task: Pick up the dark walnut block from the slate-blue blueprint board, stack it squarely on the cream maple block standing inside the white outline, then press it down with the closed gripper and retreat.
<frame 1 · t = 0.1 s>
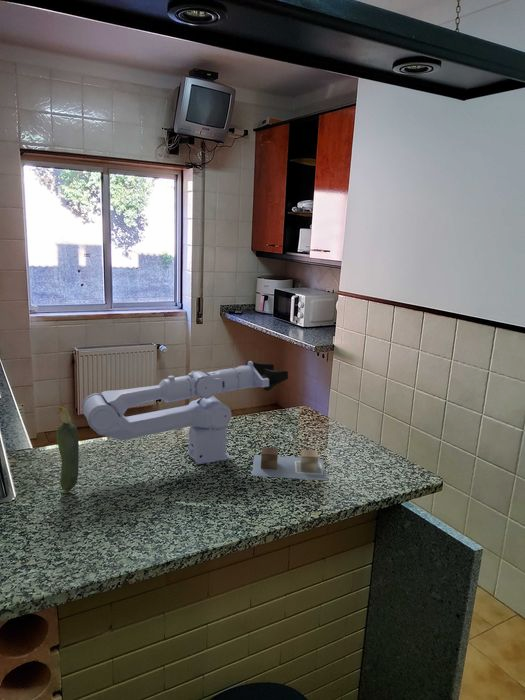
hand: (280, 371, 136), 22 cm above the countertop, tool horizontal, fingers open, 7 cm apart
vegetable: (69, 494, 110), on the countertop
blueprint board: (288, 469, 127), on the countertop
walnut block: (268, 465, 127), point 1 cm above the countertop, touching blueprint board
maple block: (308, 468, 127), point 1 cm above the countertop, touching blueprint board
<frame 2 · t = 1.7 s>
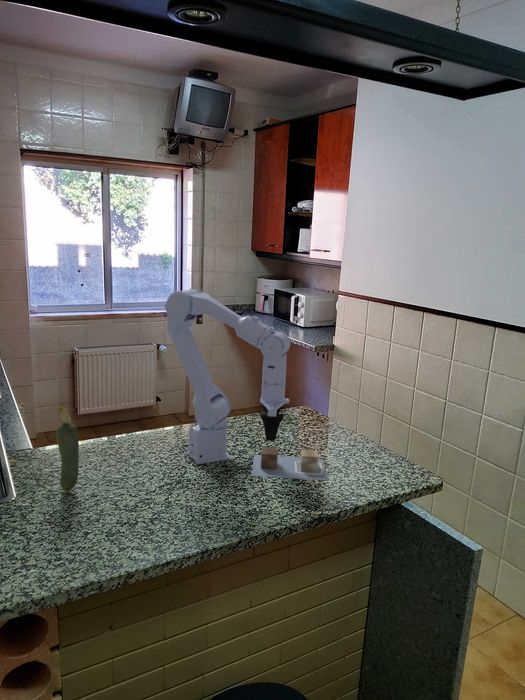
hand: (270, 434, 125), 9 cm above the countertop, tool pointing down, fingers open, 7 cm apart
nothing on the countertop moved.
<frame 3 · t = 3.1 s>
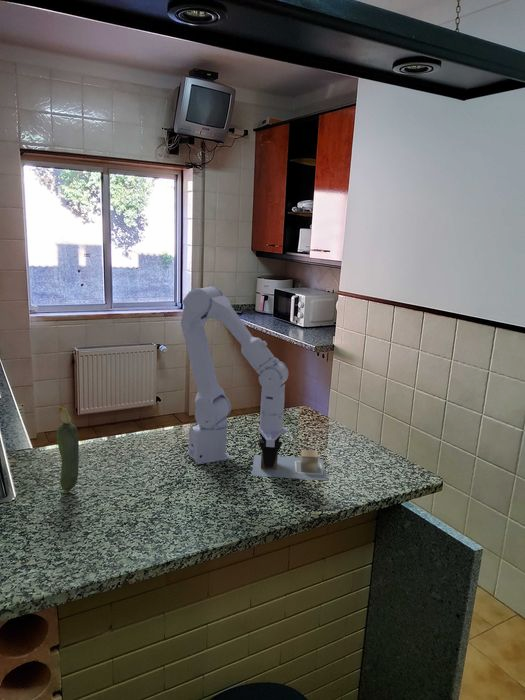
hand: (269, 462, 127), 1 cm above the countertop, tool pointing down, fingers closed on walnut block, 4 cm apart
walnut block: (268, 465, 127), point 1 cm above the countertop, touching blueprint board, gripper
everything else where it was.
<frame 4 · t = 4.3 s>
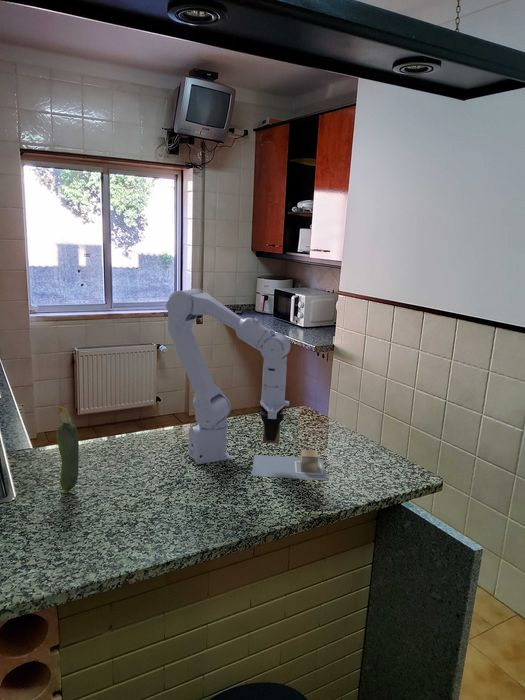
hand: (270, 436, 125), 8 cm above the countertop, tool pointing down, fingers closed on walnut block, 4 cm apart
walnut block: (271, 440, 126), point 7 cm above the countertop, touching gripper
everything else where it was.
when the fingers open (6 cm above the countertop, at t = 5.9 s): walnut block stays where it is, resting on maple block.
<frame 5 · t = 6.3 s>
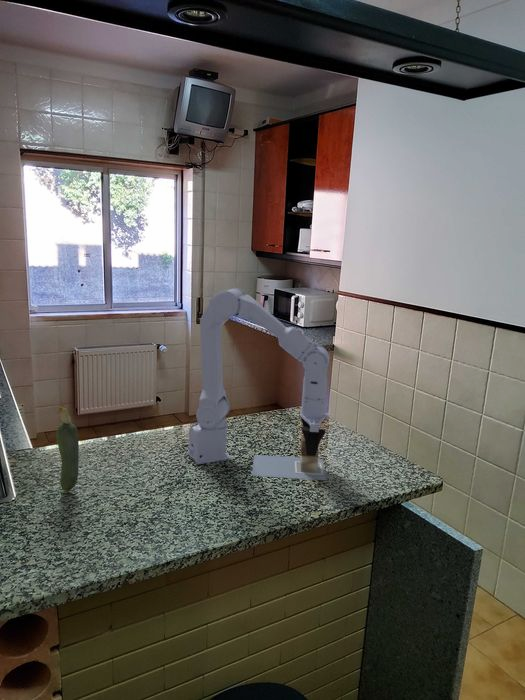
hand: (310, 448, 126), 6 cm above the countertop, tool pointing down, fingers open, 7 cm apart
walnut block: (308, 453, 126), point 5 cm above the countertop, touching maple block
maple block: (308, 468, 127), point 1 cm above the countertop, touching blueprint board, walnut block
everything else where it was.
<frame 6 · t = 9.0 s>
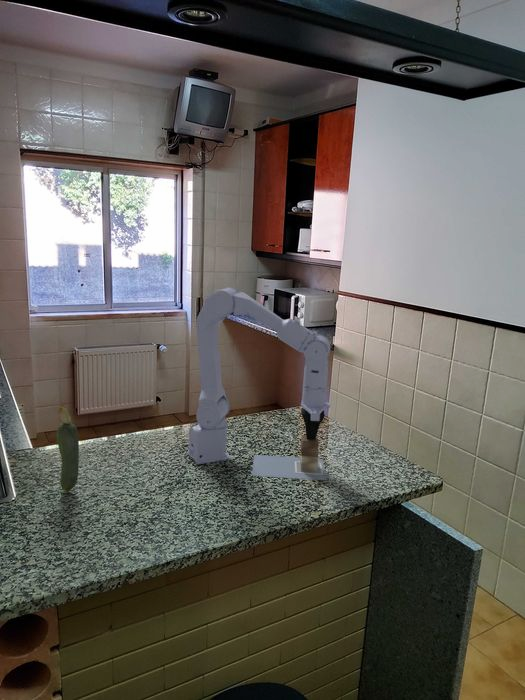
hand: (310, 438, 125), 9 cm above the countertop, tool pointing down, fingers closed, pressing on walnut block
walnut block: (308, 453, 126), point 5 cm above the countertop, touching gripper, maple block
everything else where it was.
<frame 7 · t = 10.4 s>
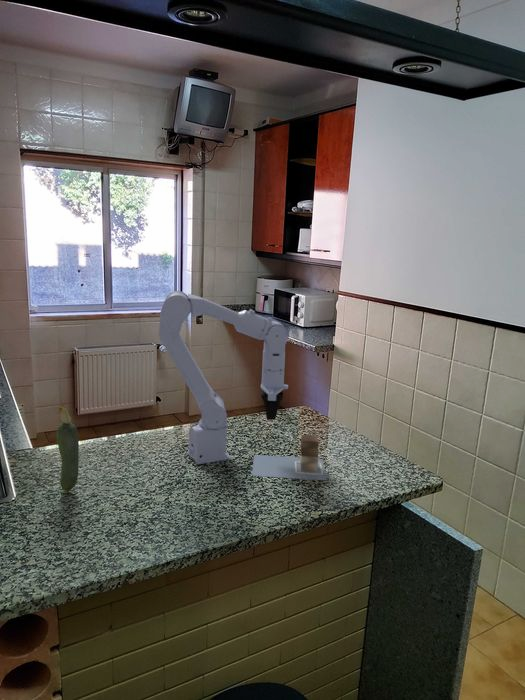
hand: (271, 418, 132), 10 cm above the countertop, tool pointing down, fingers closed
walnut block: (308, 453, 126), point 5 cm above the countertop, touching maple block
everything else where it was.
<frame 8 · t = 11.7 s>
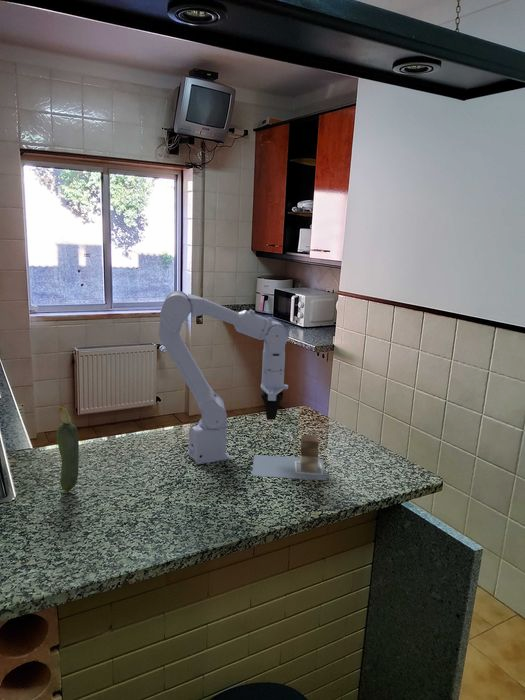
hand: (271, 418, 132), 10 cm above the countertop, tool pointing down, fingers closed
nothing on the countertop moved.
at the end: walnut block 0.2 cm off-centre on the maple block, point 4.0 cm above the maple block's base; walnut block tilted 0°; maple block moved 0.0 cm from its start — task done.
